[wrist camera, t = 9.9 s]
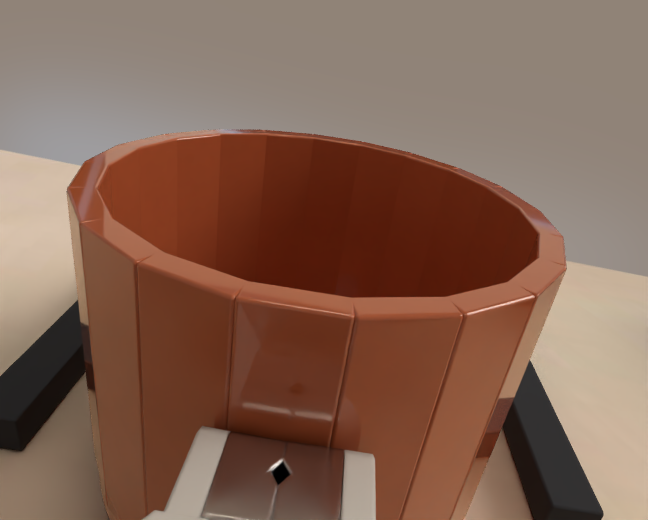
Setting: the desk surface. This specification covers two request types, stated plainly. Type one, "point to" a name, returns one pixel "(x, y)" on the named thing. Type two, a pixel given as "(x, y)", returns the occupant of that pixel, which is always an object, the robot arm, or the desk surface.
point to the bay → (520, 424)
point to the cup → (303, 308)
